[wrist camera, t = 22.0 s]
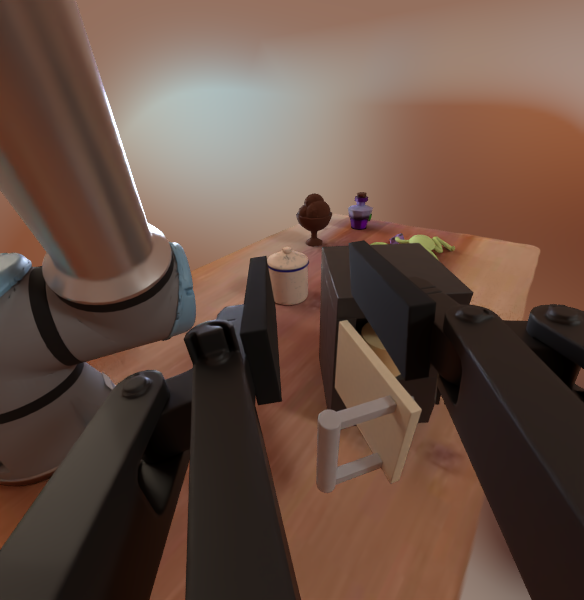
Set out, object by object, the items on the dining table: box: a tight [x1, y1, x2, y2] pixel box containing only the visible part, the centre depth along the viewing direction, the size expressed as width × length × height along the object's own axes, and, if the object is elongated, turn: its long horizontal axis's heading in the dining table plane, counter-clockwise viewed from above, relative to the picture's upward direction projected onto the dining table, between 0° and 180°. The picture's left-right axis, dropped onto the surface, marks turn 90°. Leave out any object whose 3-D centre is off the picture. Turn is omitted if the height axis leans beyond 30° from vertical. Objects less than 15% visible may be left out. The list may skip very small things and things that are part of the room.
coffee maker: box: [319, 243, 473, 426], centre depth 38 cm, size 14×13×20 cm
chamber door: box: [316, 320, 422, 493], centre depth 26 cm, size 7×11×9 cm, turn 18°
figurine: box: [370, 234, 455, 261], centre depth 80 cm, size 18×27×6 cm
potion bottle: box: [348, 192, 373, 230], centre depth 102 cm, size 9×9×12 cm
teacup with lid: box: [267, 247, 309, 305], centre depth 64 cm, size 12×9×12 cm
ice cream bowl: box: [296, 194, 332, 246], centre depth 90 cm, size 11×11×15 cm
